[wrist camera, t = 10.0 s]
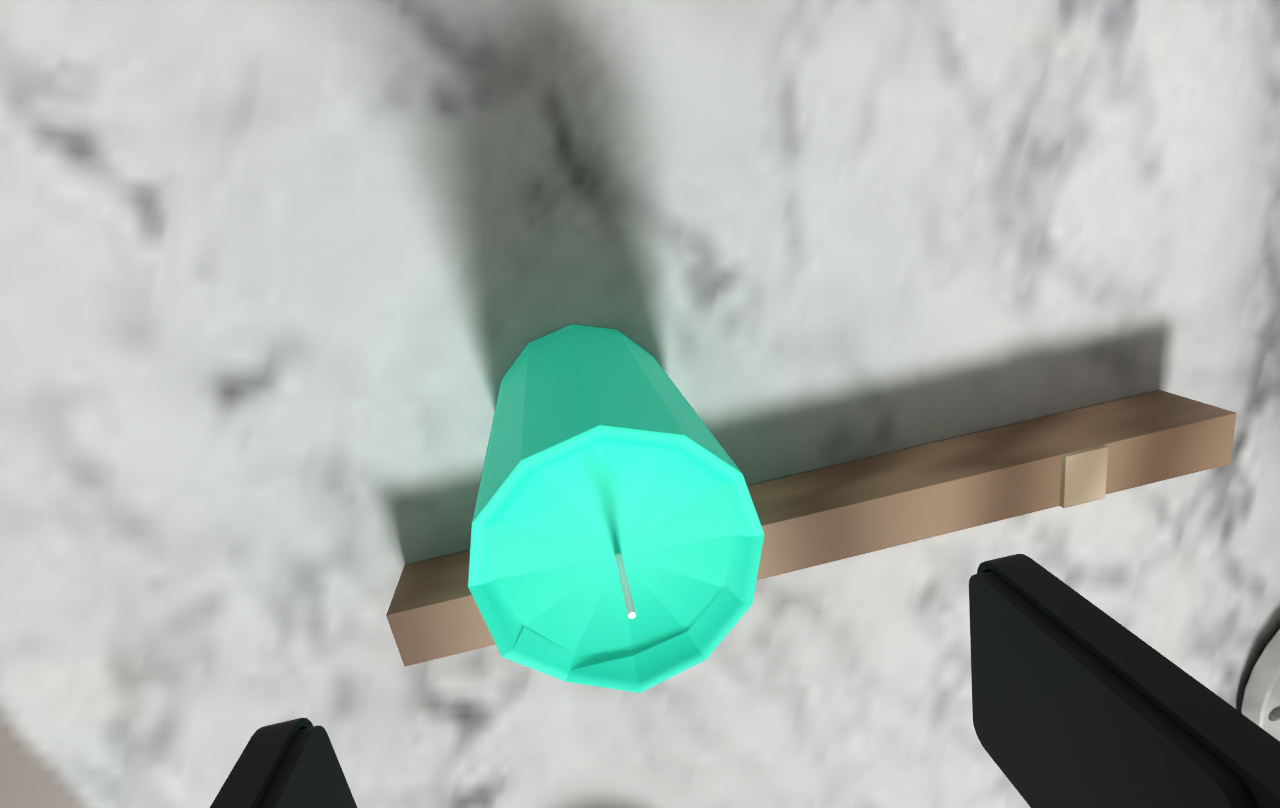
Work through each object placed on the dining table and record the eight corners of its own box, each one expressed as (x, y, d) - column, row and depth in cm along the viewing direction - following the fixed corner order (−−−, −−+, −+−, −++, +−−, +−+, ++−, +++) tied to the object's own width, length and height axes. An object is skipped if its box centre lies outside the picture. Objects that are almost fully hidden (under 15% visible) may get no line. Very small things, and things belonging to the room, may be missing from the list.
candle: (533, 296, 21) (528, 402, 10) (696, 360, 23) (854, 516, 11) (472, 457, 22) (405, 715, 11) (629, 508, 24) (713, 781, 13)
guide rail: (1159, 389, 26) (1242, 414, 23) (1156, 436, 27) (1235, 465, 24) (404, 565, 23) (385, 619, 20) (420, 611, 24) (403, 670, 21)
